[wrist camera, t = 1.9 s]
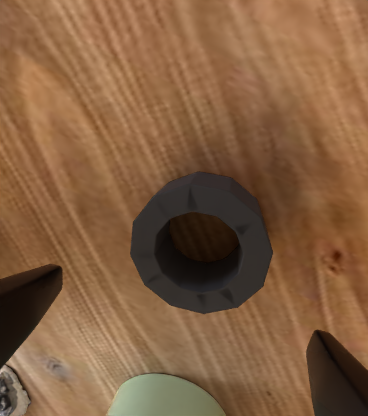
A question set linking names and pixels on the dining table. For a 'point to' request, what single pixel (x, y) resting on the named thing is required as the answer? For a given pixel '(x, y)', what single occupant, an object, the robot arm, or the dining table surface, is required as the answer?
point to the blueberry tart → (11, 394)
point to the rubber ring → (195, 270)
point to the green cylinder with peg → (162, 398)
